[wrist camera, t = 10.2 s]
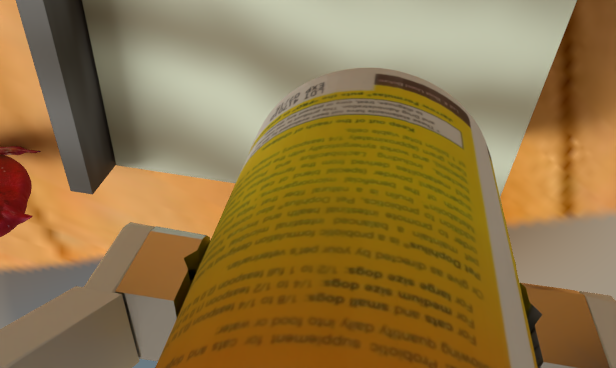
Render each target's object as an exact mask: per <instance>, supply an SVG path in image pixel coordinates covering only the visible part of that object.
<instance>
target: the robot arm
mask: <svg viewBox="0 0 616 368" xmlns="http://www.w3.org/2000/svg"><path fill="white" fill-rule="evenodd" d="M209 243H210V237H208V236H206V235H201V234H196V233H190V232H185V231H179V230H173V229H168V228H162V227H157V226H156V227H154V226H148V225H143V224H137V223H131V222H130V223H129V224H127V225H126V226H125V227H123V229H122V230H121V232H120V233H119V235H118V236H117V238H116V239H115V241H114V242H113V244H112V245H111V247H110V248H109V250H108V251H107V253H106V254H105V256H104V257H103V259H102V260H101V262H100V264H99V265H98V267H97V268H96V270H95V271H94V273H93V274H92V276H91V278H90V279H89V280H88V282H87V283H86V285H85V286H84V287H77V286H76V287H74V288H72V289H70V290H69V291H67V292H65V293H63V294H62V295H60V296H58V297H56V298H55V299H53V300H51V301H49V302H48V303H46V304H44V305H43V306H41V307H39V308H37V309H35V310H34V311H32V312H30V313H29V314H27V315H25V316H23V317H21V318H20V319H18V320H16V321H14V322H13V323H11V324H9V325H7V326H5V327H4V328H2V329H0V368H132V367H133V366H135V365H136V364H137V363H138V362H139V359H146V360H153V361H159V358H160V356H161V354H162V352H163V349H164V347H165V345H166V342H167V340H168V338H169V336H170V333H171V331H172V329H173V326H174V324H175V322H176V320H177V317H178V315H179V313H180V310H181V308H182V306H183V303H184V301H185V298H186V296H187V294H188V291H189V289H190V287H191V284H192V282H193V279H194V277H195V275H196V272H197V270H198V268H199V266H200V263H201V261H202V259H203V257H204V255H205V252H206V250H207V248H208V245H209ZM520 288H521V292H522V298H523V303H524V307H525V311H526V315H527V320H528V324H529V329H530V333H531V338H532V343H533V347H534V352H535V357H536V362H537V366H538V368H616V301H615V300H614V299H613V298H612V297H611V296H608V295H602V294H595V293H588V292H581V291H580V292H578V291H574V290H568V289H561V288H554V287H547V286H539V285H532V284H525V283H520Z"/></svg>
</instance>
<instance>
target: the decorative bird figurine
mask: <svg viewBox="0 0 616 368" xmlns="http://www.w3.org/2000/svg"><path fill="white" fill-rule="evenodd" d="M26 152H30V153H37V152H40V151H34V150H27V149H24V148H22V147H19V146H11V147H0V237H2V236H4V235H5V234H7V233H9V232H10V231H11V230H13V229H14V228H15V227H16V226H17V225H19V224H20V223H23V222H25V221H26V220H28V219H30V218H31V217H32V216H30V215H27V214H24V213H25V211H26V207H27V201H28V199H29V196H30V194H31V180H30V177H29V175H28V173H27V171H26V169H25V168H24V167H23V166H22V165H21V164H20V163H18V162H17V161H15V160H14V159H12V158H10V157H8V156H5V155H9V154H12V155H21V154H23V153H26Z"/></svg>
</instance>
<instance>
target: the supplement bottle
mask: <svg viewBox="0 0 616 368" xmlns="http://www.w3.org/2000/svg"><path fill="white" fill-rule="evenodd" d="M155 368H538V366H537V362H536V357H535V352H534V347H533V343H532V338H531V333H530V329H529V324H528V320H527V315H526V311H525V307H524V303H523V298H522V292H521V288H520V283H519V279H518V275H517V270H516V264H515V260H514V257H513V252H512V248H511V243H510V239H509V234H508V230H507V225H506V221H505V217H504V213H503V209H502V204H501V199H500V195H499V191H498V187H497V182H496V177H495V173H494V168H493V164H492V160H491V156H490V152H489V150H488V147H487V144H486V141H485V138H484V136H483V134H482V132H481V130H480V128H479V126H478V124H477V123H476V122H475V120H474V119H473V118H472V116H471V115H470V114H469V113H468V111H467V110H466V109H465V108H464V107H463V106H462V105H461V104H460V103H459V102H458V101H457V100H456V99H454V98H453V97H452V96H451V95H450V94H448V93H447V92H445V91H444V90H442V89H441V88H439V87H437V86H435V85H434V84H432V83H430V82H428V81H426V80H423V79H421V78H419V77H416V76H413V75H410V74H407V73H403V72H400V71H396V70H390V69H384V68H354V69H346V70H341V71H336V72H332V73H329V74H326V75H323V76H320V77H318V78H315V79H312V80H310V81H308V82H306V83H304V84H303V85H301V86H299V87H298V88H296V89H295V90H293V91H292V92H291V93H289V94H288V95H287V96H286V97H284V98H283V99H282V100H281V101H280V102H279V103H278V104H277V105H276V106H275V107H274V109H273V110H272V111H271V112H270V114H269V115H268V116H267V118H266V119H265V121H264V122H263V124H262V126H261V128H260V130H259V132H258V134H257V136H256V138H255V140H254V142H253V144H252V147H251V150H250V152H249V154H248V157H247V159H246V161H245V163H244V165H243V168H242V170H241V173H240V175H239V177H238V179H237V182H236V184H235V186H234V189H233V191H232V193H231V195H230V198H229V200H228V202H227V204H226V207H225V209H224V211H223V214H222V216H221V218H220V220H219V223H218V225H217V227H216V229H215V232H214V234H213V236H212V238H211V241H210V243H209V245H208V248H207V250H206V252H205V255H204V257H203V259H202V261H201V263H200V266H199V268H198V270H197V272H196V275H195V277H194V279H193V282H192V284H191V287H190V289H189V291H188V294H187V296H186V298H185V301H184V303H183V306H182V308H181V310H180V313H179V315H178V317H177V320H176V322H175V324H174V326H173V329H172V331H171V333H170V336H169V338H168V340H167V342H166V345H165V347H164V349H163V352H162V354H161V356H160V358H159V361H158V363H157V365H156V367H155Z"/></svg>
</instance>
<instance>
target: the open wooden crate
mask: <svg viewBox="0 0 616 368" xmlns="http://www.w3.org/2000/svg"><path fill="white" fill-rule="evenodd" d="M576 2H577V0H16V3H17V6H18V10H19V13H20V17H21V20H22V24H23V27H24V31H25V34H26V38H27V41H28V44H29V48H30V51H31V55H32V58H33V62H34V65H35V69H36V72H37V76H38V79H39V83H40V86H41V89H42V93H43V96H44V100H45V103H46V107H47V110H48V114H49V117H50V121H51V124H52V128H53V131H54V134H55V138H56V141H57V145H58V148H59V152H60V155H61V159H62V162H63V166H64V169H65V173H66V176H67V179H68V183H69V186H70V190H71V191H75V192H81V193H87V194H93V193H94V192H95V191H96V189H97V188H98V187H99V186H100V184H101V183H102V182H103V180H104V179H105V178H106V177H107V175H108V174H109V173H110V171H111V170H112V169H113V168H114V166H115V165H119V166H125V167H132V168H139V169H145V170H152V171H158V172H165V173H171V174H178V175H184V176H191V177H198V178H204V179H211V180H217V181H224V182H230V183H236V182H237V179H238V177H239V175H240V173H241V170H242V168H243V165H244V163H245V161H246V159H247V157H248V154H249V152H250V150H251V147H252V144H253V142H254V140H255V138H256V136H257V134H258V132H259V130H260V128H261V126H262V124H263V122H264V121H265V119H266V118H267V116H268V115H269V114H270V112H271V111H272V110H273V109H274V107H275V106H276V105H277V104H278V103H279V102H280V101H281V100H282V99H283V98H284V97H286V96H287V95H288V94H289V93H291V92H292V91H293V90H295V89H296V88H298V87H299V86H301V85H303V84H304V83H306V82H308V81H310V80H312V79H315V78H318V77H320V76H323V75H326V74H329V73H332V72H336V71H341V70H346V69H354V68H384V69H390V70H396V71H400V72H403V73H407V74H410V75H413V76H416V77H419V78H421V79H423V80H426V81H428V82H430V83H432V84H434V85H435V86H437V87H439V88H441V89H442V90H444V91H445V92H447V93H448V94H450V95H451V96H452V97H453V98H454V99H456V100H457V101H458V102H459V103H460V104H461V105H462V106H463V107H464V108H465V109H466V110H467V111H468V113H469V114H470V115H471V116H472V118H473V119H474V120H475V122H476V123H477V124H478V126H479V128H480V130H481V132H482V134H483V136H484V138H485V141H486V144H487V147H488V150H489V152H490V156H491V160H492V164H493V168H494V173H495V177H496V182H497V187H498V191H499V195H500V196H501V193H502V191H503V188H504V186H505V183H506V180H507V178H508V175H509V173H510V170H511V168H512V165H513V163H514V160H515V157H516V155H517V152H518V150H519V147H520V145H521V142H522V140H523V137H524V134H525V132H526V129H527V127H528V124H529V122H530V119H531V117H532V114H533V111H534V109H535V106H536V104H537V101H538V99H539V96H540V94H541V91H542V88H543V86H544V83H545V81H546V78H547V76H548V73H549V71H550V68H551V65H552V63H553V60H554V58H555V55H556V53H557V50H558V48H559V45H560V43H561V40H562V37H563V35H564V32H565V30H566V27H567V25H568V22H569V20H570V17H571V14H572V12H573V9H574V7H575V4H576Z"/></svg>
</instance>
